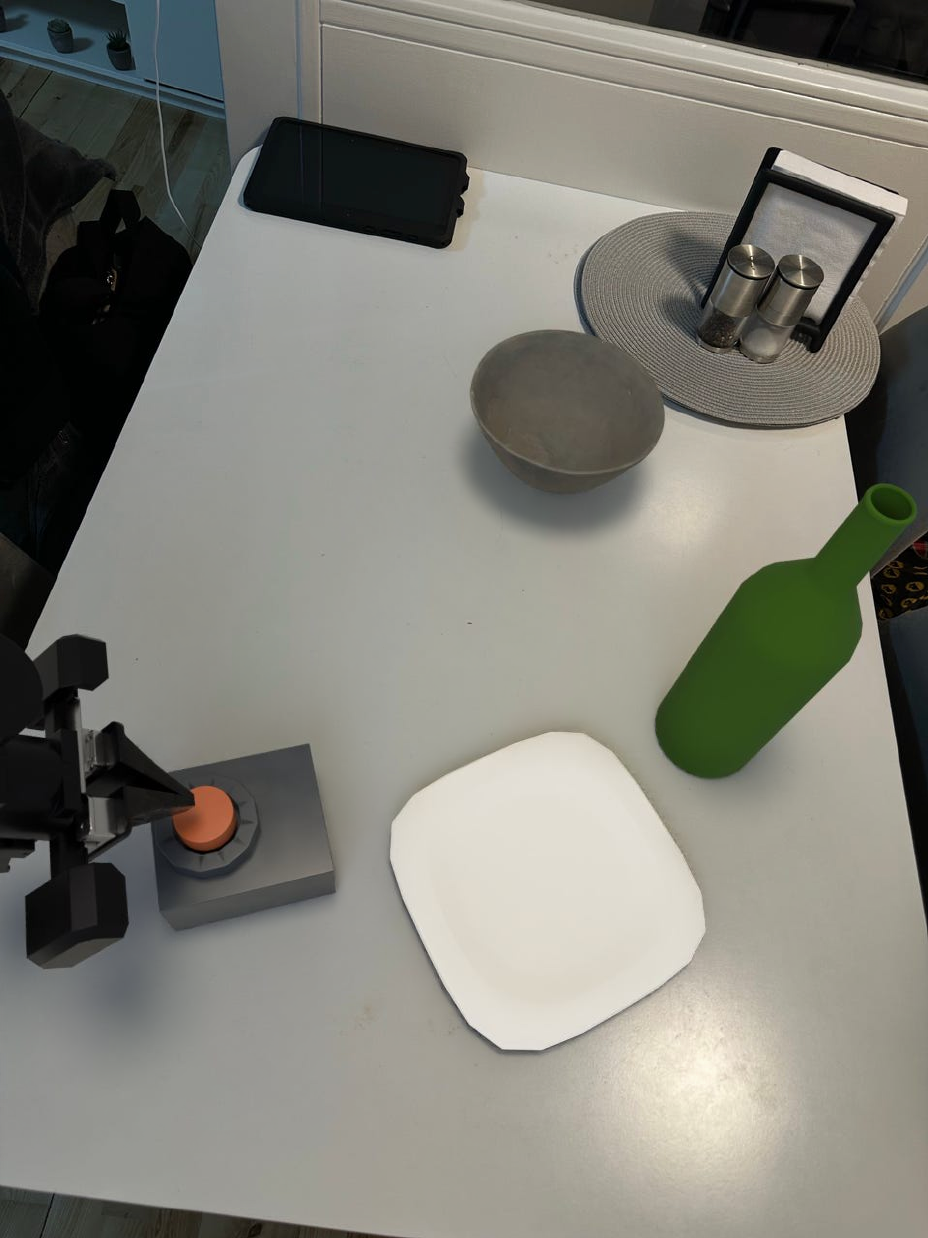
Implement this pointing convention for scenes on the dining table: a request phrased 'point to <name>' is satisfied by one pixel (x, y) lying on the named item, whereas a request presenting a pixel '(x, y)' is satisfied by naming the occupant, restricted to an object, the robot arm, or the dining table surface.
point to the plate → (545, 889)
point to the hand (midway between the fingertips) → (191, 803)
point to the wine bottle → (777, 644)
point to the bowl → (566, 409)
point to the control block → (248, 842)
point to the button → (207, 820)
